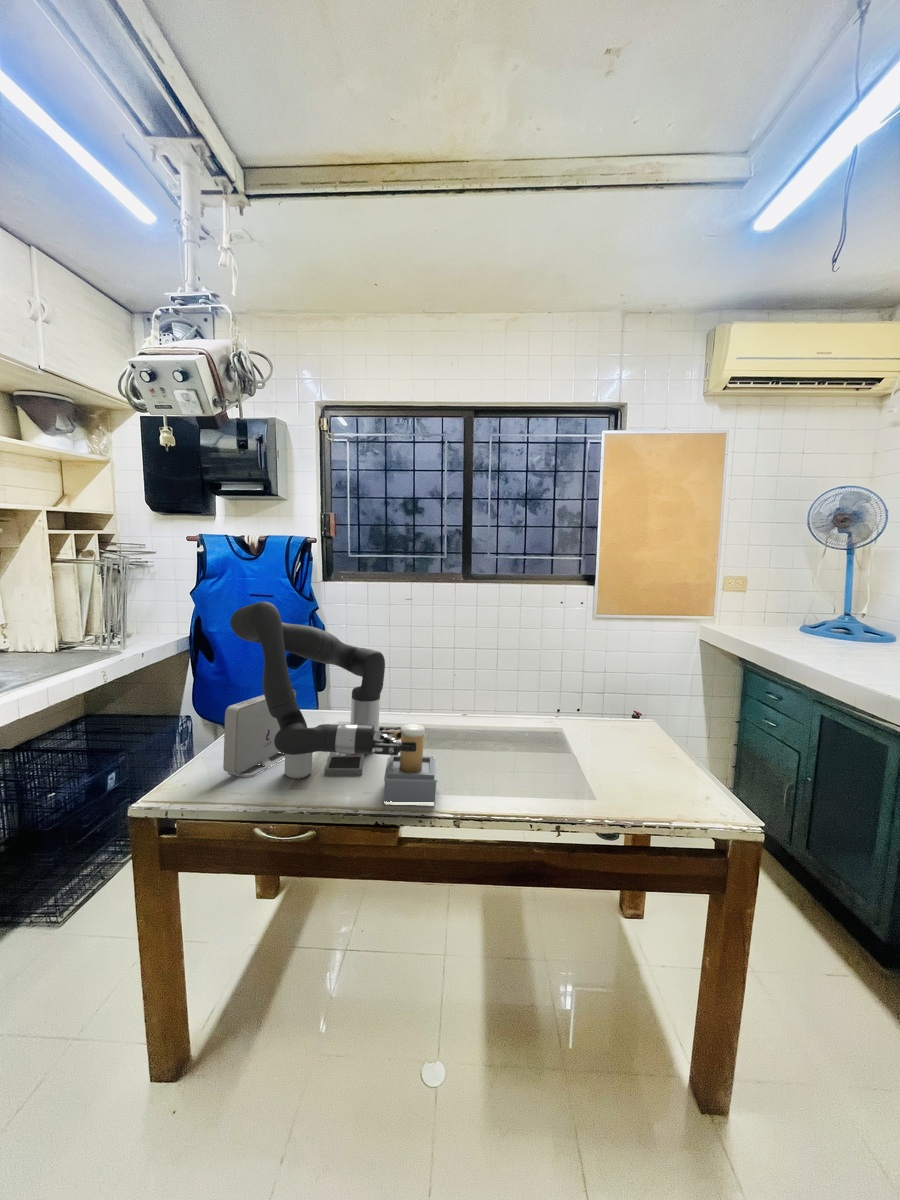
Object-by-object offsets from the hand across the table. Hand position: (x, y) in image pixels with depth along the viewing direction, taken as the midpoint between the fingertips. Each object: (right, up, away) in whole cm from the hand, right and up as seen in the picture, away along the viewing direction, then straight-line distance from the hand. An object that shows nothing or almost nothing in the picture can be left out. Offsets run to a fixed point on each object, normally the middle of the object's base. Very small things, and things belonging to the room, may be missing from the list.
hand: (416, 741), depth 124 cm
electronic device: (-23, -13, +17) cm, 31 cm away
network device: (-47, -11, +14) cm, 51 cm away
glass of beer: (-2, -7, 0) cm, 8 cm away
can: (-34, -12, +9) cm, 37 cm away
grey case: (-2, -14, +1) cm, 15 cm away
